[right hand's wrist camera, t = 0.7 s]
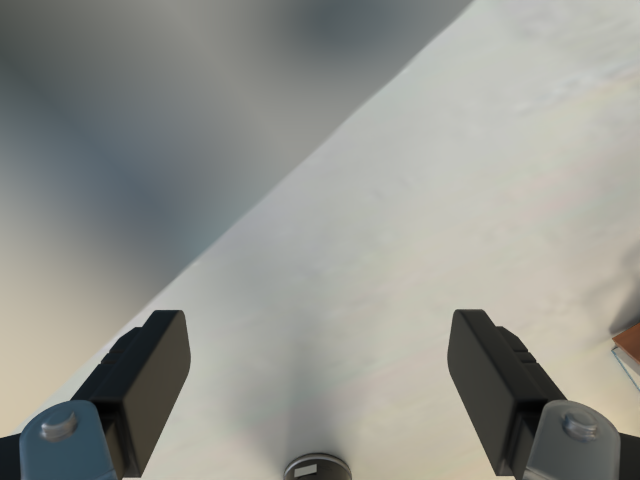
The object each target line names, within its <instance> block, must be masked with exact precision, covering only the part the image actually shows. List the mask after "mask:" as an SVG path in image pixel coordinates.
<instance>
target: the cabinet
mask: <svg viewBox="0 0 640 480" xmlns="http://www.w3.org/2000/svg"><path fill="white" fill-rule="evenodd" d="M612 352H613V354H614V355H615V357H616V358H617V360H618V361H619V363H620V364H621V365H622V367H623V368H624V370H625V371H626V373H627V374H628V376H629V377H630V378H631V380H632V381H633V383H634V384H635V386H636V387H637V389H638V390H639V391H640V365H639V364H638V363H636V362H635V361H634V360H633V359H632V358H631V357H630V356H628V355H627V354H626V353H625V352H624V351H623V350H622V349H621V348H619V347H617V348H616V349H614V350H612Z"/></svg>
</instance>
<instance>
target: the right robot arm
mask: <svg viewBox="0 0 640 480" xmlns="http://www.w3.org/2000/svg"><path fill="white" fill-rule="evenodd" d="M447 360H448V368H449V372H450V375H451V377H452V379H453V382H454V384H455V386H456V388H457V390H458V393H459V395H460V397H461V399H462V401H463V404H464V406H465V408H466V410H467V413H468V415H469V417H470V419H471V421H472V424H473V426H474V428H475V430H476V432H477V435H478V437H479V439H480V441H481V443H482V446H483V448H484V450H485V452H486V455H487V457H488V459H489V461H490V463H491V466H492V468H493V470H494V472H495V474H496V476H514V477H515V479H516V480H640V437H635V436H631V435H627V434H623V433H619V432H618V431H617V429H616V428H615V427H614V425H613V424H612V423H611V422H610V421H609V420H608V419H607V418H606V417H604V416H603V415H602V414H600V413H599V412H597V411H596V410H594V409H592V408H590V407H588V406H586V405H583V404H580V403H577V402H573V401H568V400H567V399H566V397H565V396H564V395H563V394H562V392H561V391H560V390H559V388H558V387H557V386H556V385H555V383H554V382H553V381H552V380H551V378H550V377H549V376H548V375H547V373H546V372H545V371H544V369H543V368H542V367H541V366H540V364H539V363H536V359H535V358H534V357H533V356H532V354H531V353H530V352H528V349H527V348H526V347H525V345H524V344H523V343H522V342H521V340H520V339H519V338H518V337H517V336H516V335H514V334H513V333H511V332H510V331H508V330H507V329H505V328H504V327H502V326H495V325H494V323H493V322H492V321H491V319H490V318H489V317H488V315H487V314H486V312H485V311H484V310H482V309H457V310H455V312H454V314H453V319H452V326H451V333H450V339H449V346H448V354H447ZM190 362H191V354H190V347H189V340H188V333H187V327H186V320H185V315H184V312H183V311H182V310H155V311H154V312H153V313H152V314H151V316H150V317H149V318H148V320H147V321H146V322H145V324H144V325H143V326H142V327H135V328H133V329H132V330H131V331H129V332H128V333H126V334H125V335H123V336H122V337H120V338H119V339H118V341H117V342H116V343H115V344H114V346H113V347H112V348H111V349H110V351H109V353H107V354H106V356H105V357H104V358H103V359H102V361H101V364H98V366H97V367H96V368H95V369H94V371H93V372H92V373H91V374H90V376H89V377H88V378H87V379H86V381H85V382H84V383H83V385H82V386H81V387H80V388H79V390H78V391H77V392H76V393H75V395H74V396H73V397H72V398H71V400H70V401H67V402H63V403H60V404H57V405H54V406H52V407H50V408H48V409H46V410H44V411H43V412H41V413H40V414H38V415H37V416H36V417H34V418H33V419H32V420H31V421H30V422H29V423H28V424H27V425H26V427H25V428H24V429H23V431H22V433H19V434H15V435H11V436H7V437H3V438H0V480H122V478H141V476H142V474H143V472H144V470H145V468H146V465H147V463H148V461H149V459H150V457H151V454H152V452H153V450H154V448H155V446H156V444H157V441H158V439H159V437H160V435H161V433H162V430H163V428H164V426H165V424H166V422H167V419H168V417H169V415H170V413H171V411H172V409H173V406H174V404H175V402H176V400H177V398H178V395H179V393H180V391H181V389H182V387H183V385H184V382H185V380H186V378H187V376H188V373H189V369H190ZM284 480H352V476H351V472H350V469H349V468H348V466H347V465H346V464H345V463H344V462H343V461H341V460H340V459H338V458H336V457H333V456H330V455H326V454H310V455H305V456H302V457H299V458H297V459H296V460H294V461H293V462H291V463H290V464H289V465H288V467H287V468H286V470H285V473H284Z"/></svg>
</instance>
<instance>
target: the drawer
mask: <svg viewBox="0 0 640 480" xmlns="http://www.w3.org/2000/svg"><path fill="white" fill-rule="evenodd" d="M612 339H613V341H614V342H615V344H616V345H617V346H618V347H619V348H621V349H622V350H623V351H624V352H625V353H626V354H627V355H628V356H630V357H631V358H632V359H633V360H634V361H635V362H636V363H638V364H639V365H640V323H638V324H636V325H635V326H633V327H631V328H629V329H628V330H626V331H624V332H622V333H621V334H619V335H617V336H615V337H614V338H612Z"/></svg>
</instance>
